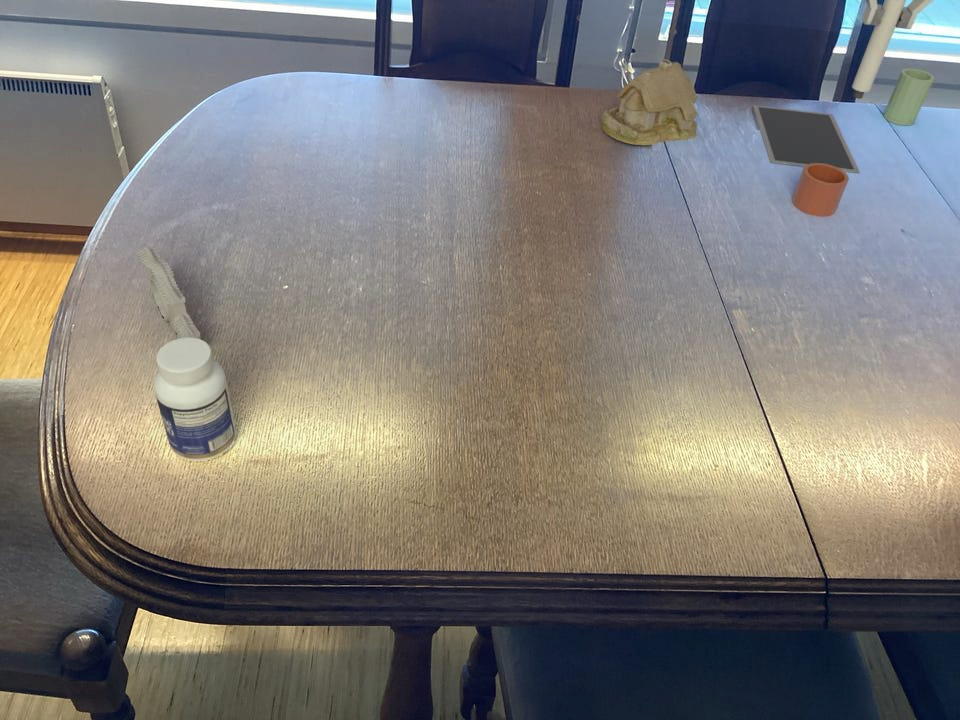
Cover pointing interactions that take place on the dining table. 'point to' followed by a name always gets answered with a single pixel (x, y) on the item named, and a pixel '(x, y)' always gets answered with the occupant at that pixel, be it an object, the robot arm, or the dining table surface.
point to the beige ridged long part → (168, 293)
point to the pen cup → (908, 96)
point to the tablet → (802, 138)
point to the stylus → (877, 47)
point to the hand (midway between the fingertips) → (885, 25)
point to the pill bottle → (193, 400)
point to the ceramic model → (654, 107)
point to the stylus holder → (820, 189)
